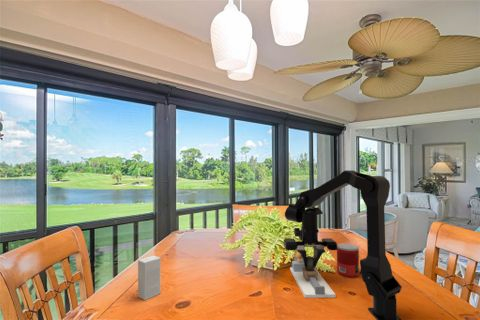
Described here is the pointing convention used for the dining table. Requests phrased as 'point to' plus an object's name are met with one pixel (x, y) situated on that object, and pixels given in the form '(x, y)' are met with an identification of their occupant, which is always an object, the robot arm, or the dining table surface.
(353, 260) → the canned food
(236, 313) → the dining table surface
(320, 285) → the plate
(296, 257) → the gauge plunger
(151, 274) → the skincare box
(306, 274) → the carriage
